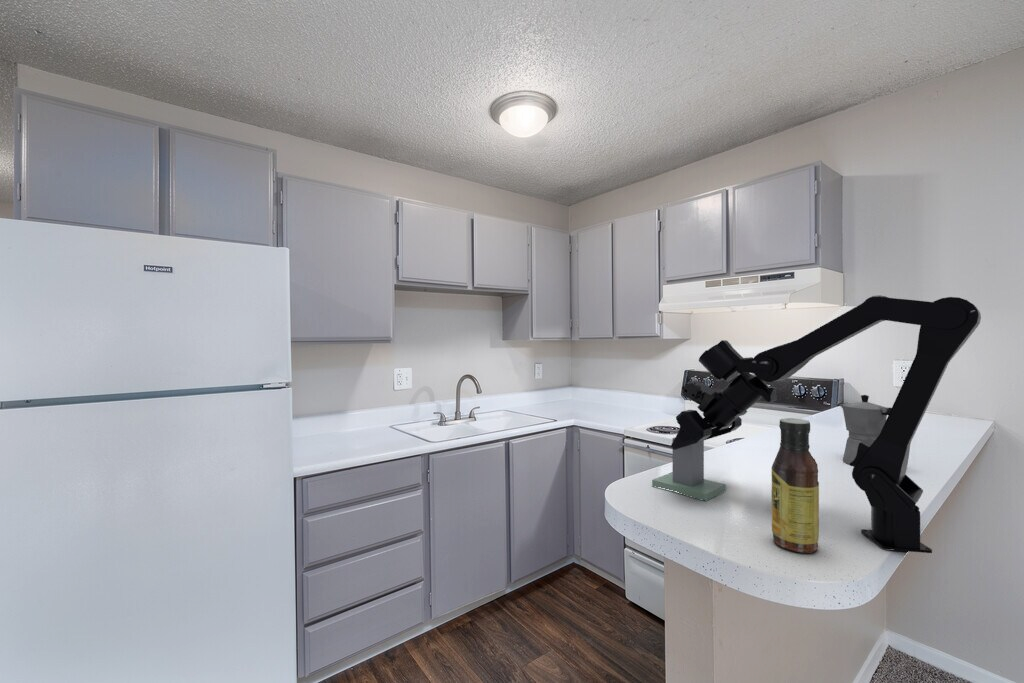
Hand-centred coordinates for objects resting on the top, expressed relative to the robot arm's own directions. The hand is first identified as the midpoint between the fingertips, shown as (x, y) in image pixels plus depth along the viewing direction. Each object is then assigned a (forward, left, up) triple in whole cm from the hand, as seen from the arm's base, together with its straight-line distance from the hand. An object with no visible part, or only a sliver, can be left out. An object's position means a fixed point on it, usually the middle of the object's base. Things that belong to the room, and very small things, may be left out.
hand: (683, 444), depth 97 cm
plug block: (-1, -1, -8) cm, 8 cm away
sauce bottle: (-26, -12, -10) cm, 30 cm away
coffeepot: (+26, -50, -10) cm, 57 cm away
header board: (-1, -1, -9) cm, 10 cm away
